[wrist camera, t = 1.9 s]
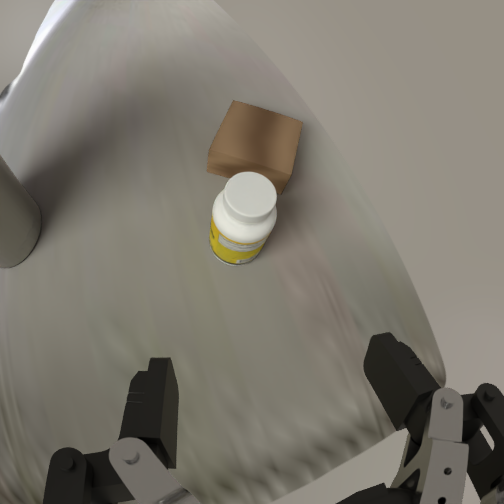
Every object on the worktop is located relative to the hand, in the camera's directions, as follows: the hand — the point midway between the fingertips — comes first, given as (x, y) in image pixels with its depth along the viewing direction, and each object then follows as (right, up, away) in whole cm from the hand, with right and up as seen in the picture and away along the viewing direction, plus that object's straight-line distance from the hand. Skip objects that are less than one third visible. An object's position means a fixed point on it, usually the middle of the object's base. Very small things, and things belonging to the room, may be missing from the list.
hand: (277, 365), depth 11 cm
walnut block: (-1, +16, +24) cm, 29 cm away
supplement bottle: (-3, +5, +20) cm, 21 cm away
